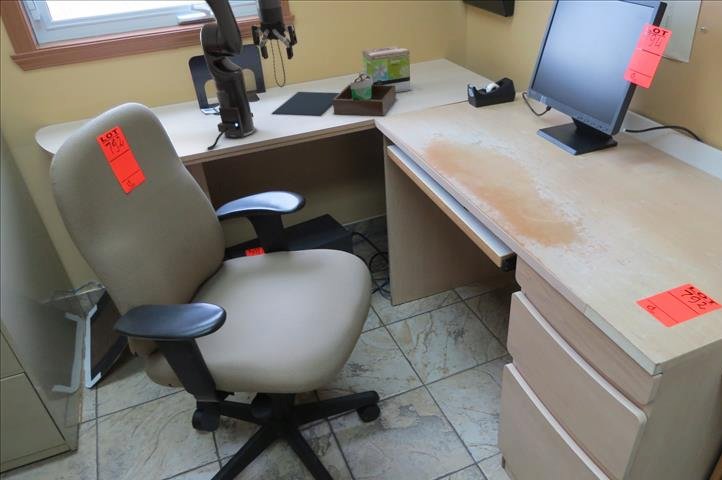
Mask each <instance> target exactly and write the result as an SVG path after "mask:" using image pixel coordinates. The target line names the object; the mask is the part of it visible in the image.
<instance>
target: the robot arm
mask: <svg viewBox="0 0 722 480" xmlns="http://www.w3.org/2000/svg"><path fill="white" fill-rule="evenodd" d="M203 1H204V2H205V3H206V4H207V6H208V7H209V9H210V10H211V12H212V14H213V17H214V19H215V22H206V23H204V24H203V25H202V26H201V29H200V34H199V37H200V38H199V39H200V44H201V49H202V52H203V55H204V59H205V63H206V66H207V69H208V72H209V74H210V75H211V77H212V81H213V84H214V89H215V93H216V99H217V103H218V112H219V116H220V121H221V122H219V123H217V130H218V133H219V134H218V135H217V137H216V138H215V141H214V142H213V144H212V145H210V146H208V147H206V149H207V150H212V149H214V148H215V147H216V146H217V144H218V143H219V140H220V138H221V137H222V136H223V135H224V137H225V138H241V139H242V138H244V137H247V136H249V135H252V134H253V133H255V131H256V127H255V125H254V112H252V110H251V109H252V108H251V106H250V100H249V96H248V90H247V86H246V80H245V76H244V75H245V74H244V71H243V68H242V67H241V66H239V65H237V64H236V63H234V62H232V61H231V60H230V59H229V58H230V57H231V58H233V57H238V56H240V55H241V53H242V51H243V48H244V47H243V46H244V45H243V43H244V42H243V37H242V32H241V29H240V26H239V24H238V21H237V19H236V16H235V14H234V13H235V12H234V11H233V9H232V6H231V3H230V1H229V0H203ZM255 5H256V10H257V16H258V21H259V25H258V24H257V23H255V24H253V25H251V26H250V29H251V35H252V43H253V46H258V47H259V49H260V54H261V57H262V58H263V60H267V59H268V58H269V54H268V48H267V43H268V41H272V40H275V41H280V42H281V43H283V44H284V46H285V50H286V56H287V60H292V59H293V57H294V50H293V47H294V46H295V45H297V44H298V37H297V33H296V29H295V28H296V27H295V25H294V24H293V23H291V24H288V25H287V24H285V22H284V15H283V7H282V0H255ZM260 32H261V33H262V37H261V38H260ZM286 32H287V33H288V35H287V33H286ZM228 57H229V58H228Z"/></svg>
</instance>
